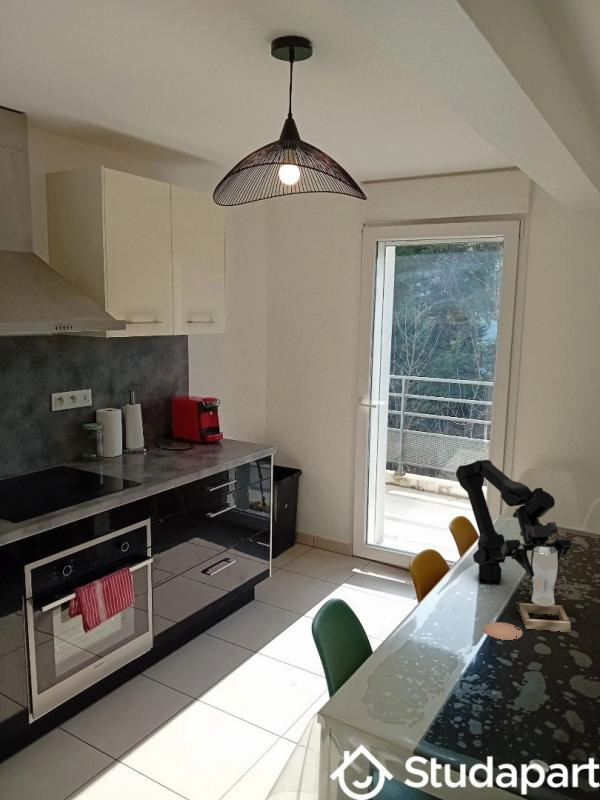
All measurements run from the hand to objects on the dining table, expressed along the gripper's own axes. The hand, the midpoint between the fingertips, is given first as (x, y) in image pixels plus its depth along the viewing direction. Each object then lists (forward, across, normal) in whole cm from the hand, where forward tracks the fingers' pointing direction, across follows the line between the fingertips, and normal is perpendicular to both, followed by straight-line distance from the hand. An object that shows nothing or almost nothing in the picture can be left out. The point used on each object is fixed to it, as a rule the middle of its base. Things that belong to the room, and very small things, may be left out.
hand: (544, 576), depth 175 cm
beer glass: (+5, 0, +6) cm, 8 cm away
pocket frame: (+9, 0, +10) cm, 13 cm away
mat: (+13, -13, +6) cm, 19 cm away
